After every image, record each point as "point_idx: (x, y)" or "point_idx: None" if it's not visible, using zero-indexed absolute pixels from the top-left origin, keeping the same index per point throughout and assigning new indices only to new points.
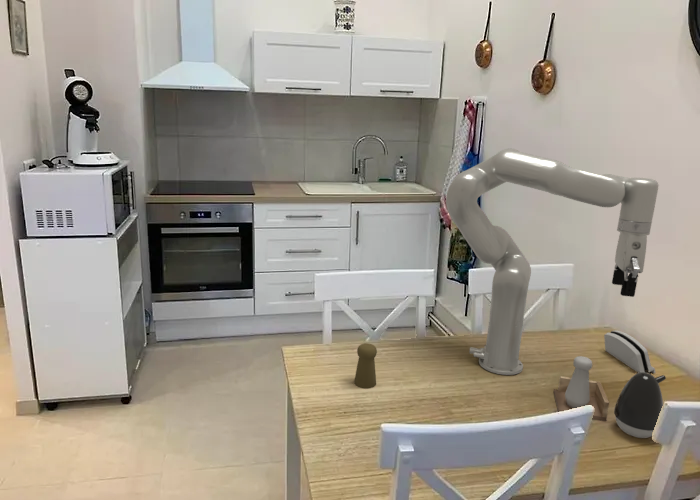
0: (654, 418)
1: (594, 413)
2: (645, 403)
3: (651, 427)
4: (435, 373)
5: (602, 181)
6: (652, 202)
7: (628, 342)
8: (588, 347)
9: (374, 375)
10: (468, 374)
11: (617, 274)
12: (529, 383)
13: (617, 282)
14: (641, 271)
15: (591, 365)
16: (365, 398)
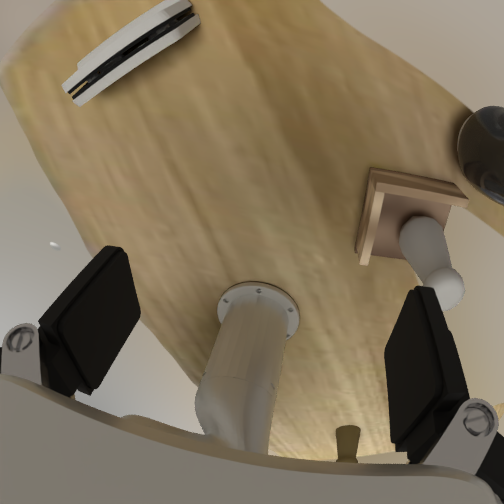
0: None
1: (443, 204)
2: None
3: None
4: (312, 387)
5: None
6: None
7: (133, 56)
8: (94, 124)
9: (353, 437)
10: (307, 357)
11: (100, 356)
12: (323, 281)
13: (130, 304)
14: (495, 499)
15: (460, 277)
16: (381, 428)
